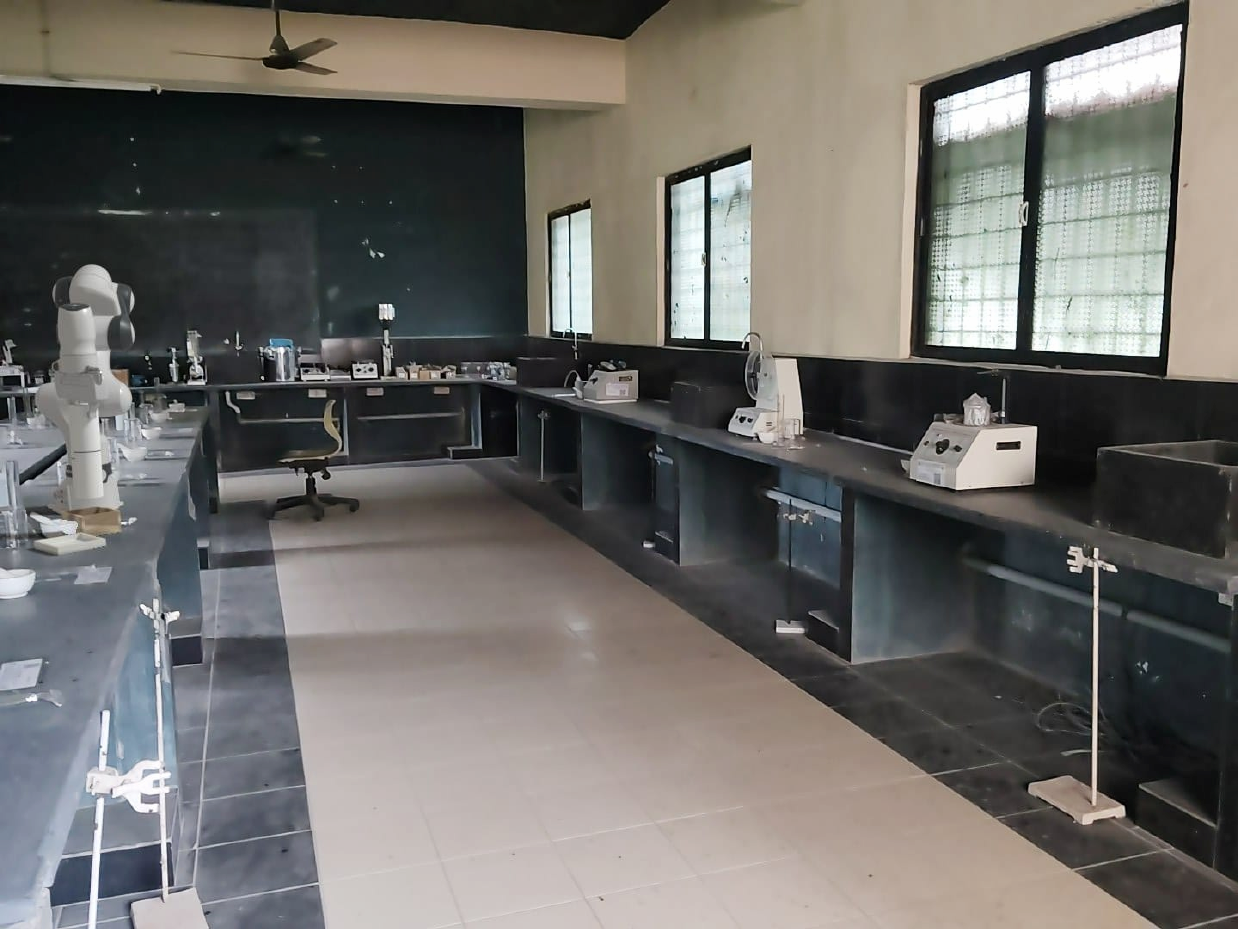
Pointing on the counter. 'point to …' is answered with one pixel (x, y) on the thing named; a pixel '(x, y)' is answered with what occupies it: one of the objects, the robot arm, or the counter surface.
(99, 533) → the holder
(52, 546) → the tray
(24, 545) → the counter surface
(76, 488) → the cylindrical container
